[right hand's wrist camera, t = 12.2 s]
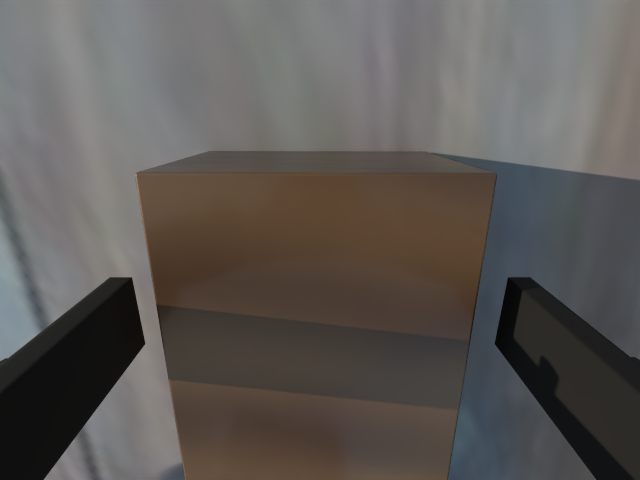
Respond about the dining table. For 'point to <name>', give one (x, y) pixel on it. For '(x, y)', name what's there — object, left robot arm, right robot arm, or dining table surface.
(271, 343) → the thick board
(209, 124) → the dining table surface
